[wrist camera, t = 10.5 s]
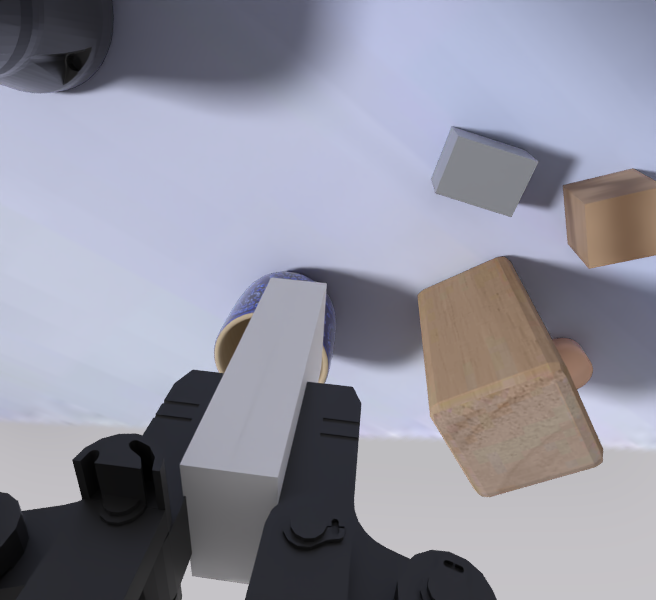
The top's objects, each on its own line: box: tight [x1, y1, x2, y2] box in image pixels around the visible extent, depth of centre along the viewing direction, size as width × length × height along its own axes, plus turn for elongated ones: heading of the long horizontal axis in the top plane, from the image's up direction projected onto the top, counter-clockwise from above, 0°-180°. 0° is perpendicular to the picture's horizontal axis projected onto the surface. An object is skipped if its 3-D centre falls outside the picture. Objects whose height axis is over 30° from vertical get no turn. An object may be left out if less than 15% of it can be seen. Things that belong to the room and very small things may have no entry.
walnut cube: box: [563, 169, 656, 269], centre depth 44 cm, size 6×6×6 cm
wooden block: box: [418, 256, 603, 497], centre depth 44 cm, size 10×10×20 cm
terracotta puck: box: [552, 338, 593, 389], centre depth 54 cm, size 5×5×3 cm
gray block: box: [431, 127, 538, 217], centre depth 44 cm, size 7×5×5 cm
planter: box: [214, 272, 336, 383], centre depth 51 cm, size 11×11×11 cm
